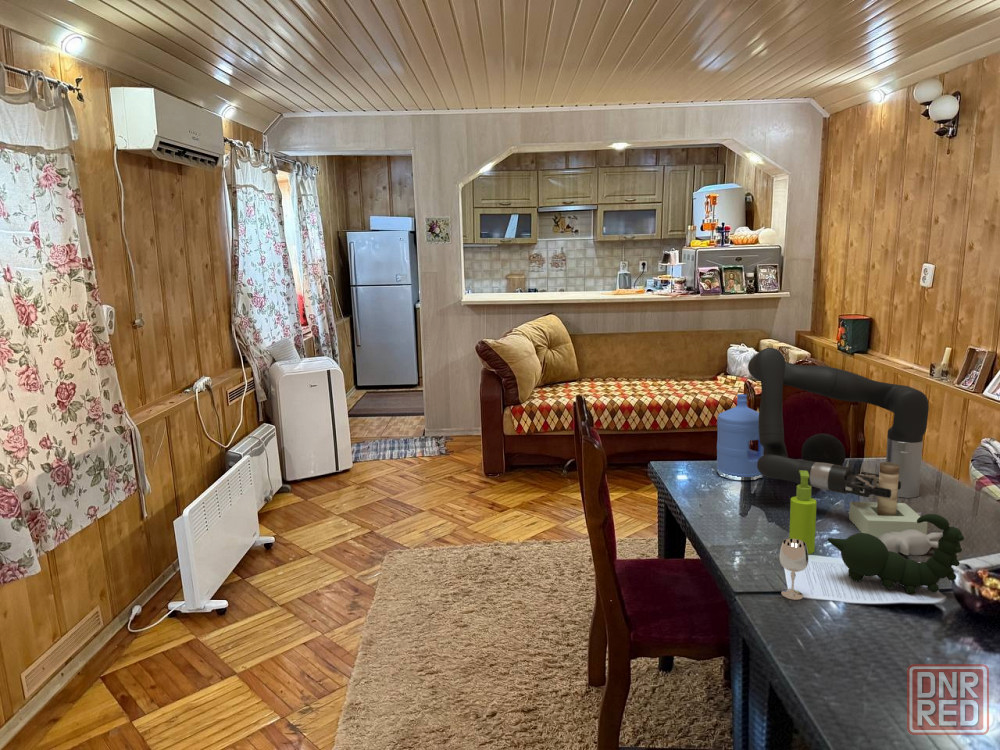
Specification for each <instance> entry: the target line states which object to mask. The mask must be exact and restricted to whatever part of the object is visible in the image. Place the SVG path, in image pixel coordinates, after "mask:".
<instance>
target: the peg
mask: <svg viewBox="0 0 1000 750" xmlns="http://www.w3.org/2000/svg"><path fill="white" fill-rule="evenodd" d="M899 468H900V466H899V465H898V464H895V463H890V462H886V461H884V462H880V463H879V472H878V473H879V480H878V481H879V487H881V488H886V489H890V490H891V491H892V492H891V497H890V498H886V497H881V496H877V502H878V505H877V515H878V516H896V508H897V503H898V497H897V494H898V479H899Z"/></svg>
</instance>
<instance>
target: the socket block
mask: <svg viewBox="0 0 1000 750" xmlns="http://www.w3.org/2000/svg"><path fill="white" fill-rule="evenodd" d="M877 505H878V501H875V502H874V501H849V514H848V515H849V516H848V518H849V520H850V522H852V523H853V525H854V524H855V525H854V526H855V527H856V528H857V529H858V530H859V531H860V533H867V534H870V535H873V536H875V537H877V538H879V537H880V536H881V535H883V534H884V533H889V532H892V531H893V532H902V531H903V530H908V529H915V530H918V531H920V532H922V533H924V534H926V535H927V534H928V523H929V522H921V523H917V519H918V518H920V517H921V516H922V515H920V514H918V513H917V511H914V509H912V508H911V507H910V506H909V505H908V504H907V503H905V502H897V508H896V516H878V515H877Z"/></svg>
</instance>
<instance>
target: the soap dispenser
mask: <svg viewBox="0 0 1000 750" xmlns="http://www.w3.org/2000/svg"><path fill="white" fill-rule="evenodd" d="M799 473H800V476H801V484H799V483H798V484H797V485H796V495H795V496H792V497H791V498H790V509H789V510H790V511H789V515H790V516H789V535H788V536H789V538H788V539H798V540H801V541H803V542H805V543H806V546H807V550H808V555H811V554H813V552H814V553H815V546H816V542H815V541H816V525H817V524H816V523H817V522H816V521H817V520H816V519H817V504H818V503H817V500H816V499H815V498H813V497H812V489H813V488H812V487H813V486H809V485H808V478H809V473H808V471H802V470H799Z"/></svg>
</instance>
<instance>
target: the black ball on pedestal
mask: <svg viewBox="0 0 1000 750" xmlns="http://www.w3.org/2000/svg"><path fill="white" fill-rule="evenodd" d="M801 458H802V460H807V461H812V462H819V463H829V464H834V465H840V466H843V464H844V462H845V460H846V449H845V446H844V444H843V443H842V442H841V440H839V439H838V438H837V437H836V436H834V435H832V434H829V433H816V434H813V435H811V436H810V437H808V438H807V439H805V441H804V443H803V444H802V447H801Z"/></svg>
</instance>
